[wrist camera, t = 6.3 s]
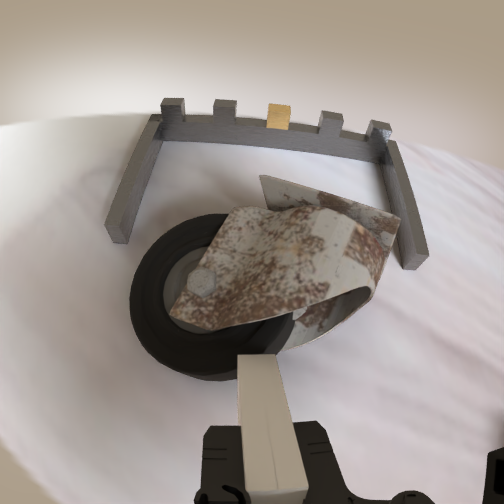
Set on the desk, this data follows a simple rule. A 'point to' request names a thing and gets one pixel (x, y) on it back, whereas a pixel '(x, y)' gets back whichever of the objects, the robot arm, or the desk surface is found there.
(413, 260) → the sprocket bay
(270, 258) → the caster wheel
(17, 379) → the desk surface
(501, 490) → the black mounting bracket
